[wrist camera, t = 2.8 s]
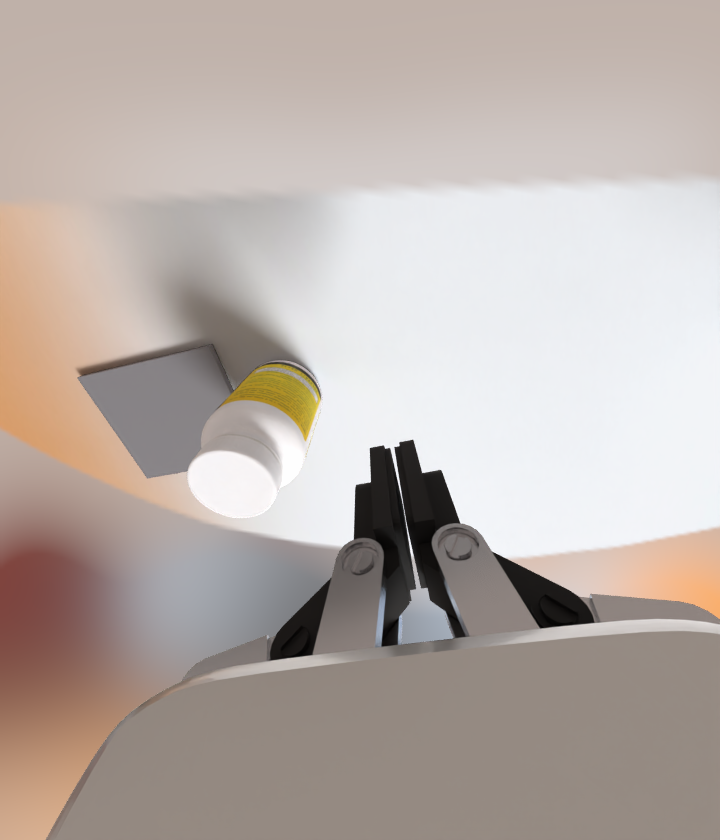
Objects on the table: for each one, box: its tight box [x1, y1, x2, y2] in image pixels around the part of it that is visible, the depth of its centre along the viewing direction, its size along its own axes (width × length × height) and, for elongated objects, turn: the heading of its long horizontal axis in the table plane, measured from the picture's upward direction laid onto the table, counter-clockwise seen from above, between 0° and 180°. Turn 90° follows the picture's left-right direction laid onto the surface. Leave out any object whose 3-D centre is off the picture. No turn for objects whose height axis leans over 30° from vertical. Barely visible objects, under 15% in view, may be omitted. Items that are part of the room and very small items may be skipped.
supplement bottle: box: [187, 360, 322, 518], centre depth 18 cm, size 5×5×10 cm
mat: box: [78, 345, 233, 478], centre depth 24 cm, size 10×9×1 cm
